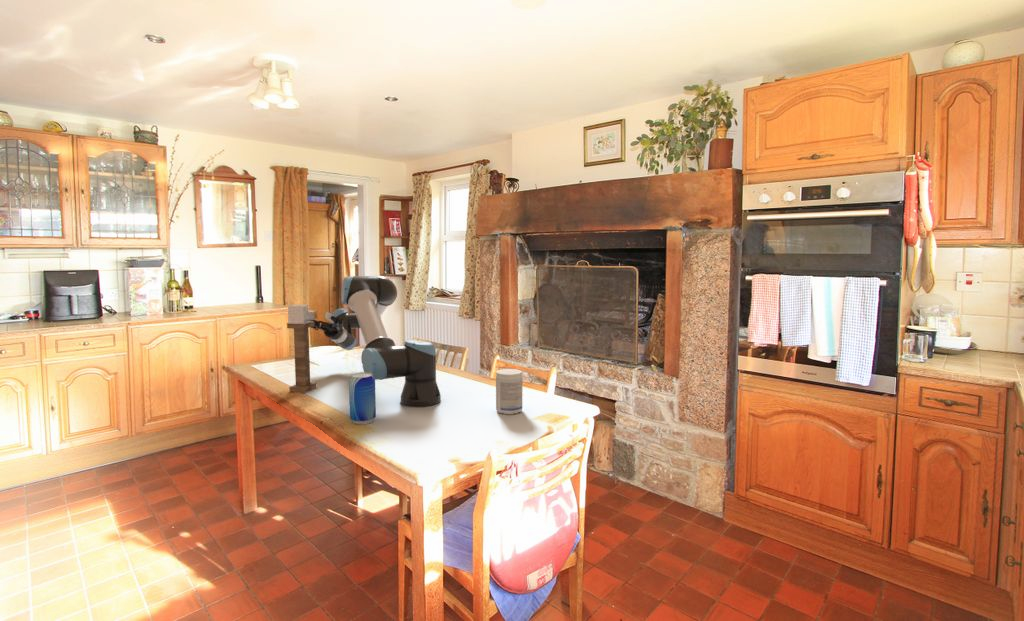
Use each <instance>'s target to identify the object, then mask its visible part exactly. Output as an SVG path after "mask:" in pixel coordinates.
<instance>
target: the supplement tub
mask: <svg viewBox="0 0 1024 621" xmlns="http://www.w3.org/2000/svg"><path fill="white" fill-rule="evenodd" d="M495 372H496V373H495V374H496V375H495V409H496V411H498V413H499V414H501V413H504V414H503V415H515V414H514V413H517V414H519V413H518V412H520V413H521V412H522V411H523V373H522V372H523V371H522V370H520V369H515V368H503V369H498V370H497V371H495Z"/></svg>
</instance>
